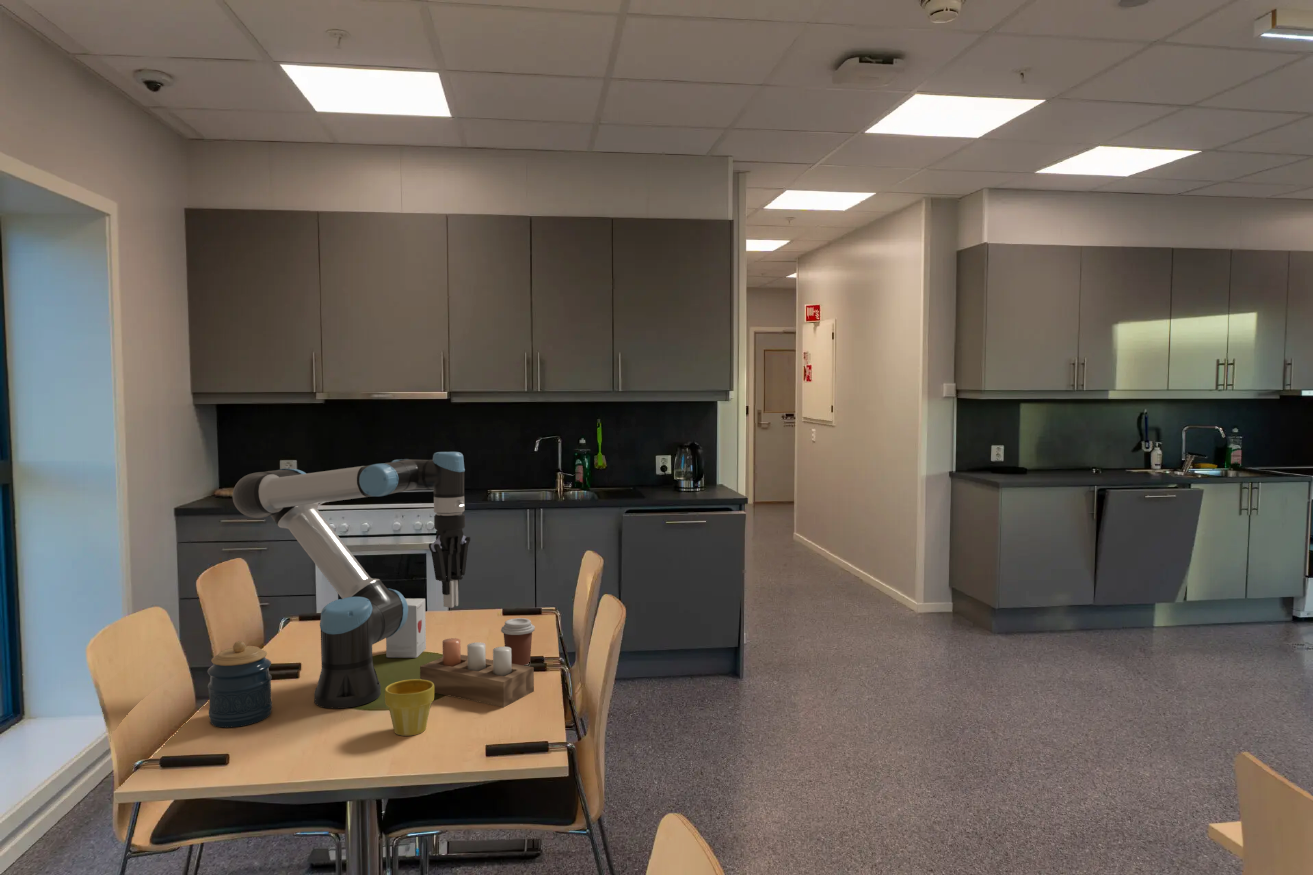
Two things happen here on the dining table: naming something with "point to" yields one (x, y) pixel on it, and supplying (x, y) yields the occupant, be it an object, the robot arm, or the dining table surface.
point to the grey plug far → (502, 661)
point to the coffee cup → (518, 639)
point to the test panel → (479, 682)
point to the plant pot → (409, 705)
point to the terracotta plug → (451, 652)
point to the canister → (239, 686)
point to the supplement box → (409, 633)
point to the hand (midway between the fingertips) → (450, 605)
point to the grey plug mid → (476, 656)
